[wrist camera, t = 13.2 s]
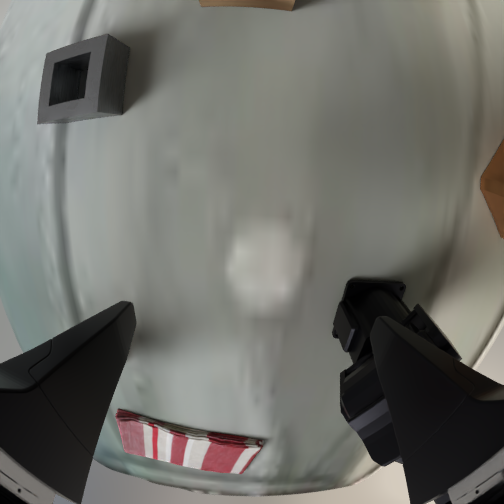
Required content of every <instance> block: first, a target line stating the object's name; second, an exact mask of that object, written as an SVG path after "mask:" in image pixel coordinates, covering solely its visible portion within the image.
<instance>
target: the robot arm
mask: <svg viewBox="0 0 504 504" xmlns="http://www.w3.org/2000/svg"><path fill="white" fill-rule="evenodd" d="M351 285H353V286H352V287H350V286H351ZM401 286H402V287H401ZM400 287H401V288H400ZM405 289H406V285H405V284H404V283H403V282H390V281H365V280H350V281H348V282H347V284H346V287H345V290H344V294H343V298H342V301H341V302H340V303H339V305H338V308H337V312H336V315H335V319H334V322H333V325H334V328H333V331H332V335H333V337H334V338H339V340H340V343H341V345H342V348H343V350H344V351H345V352H349V354H350V356H351V359H352V362H353V365H352V366H350V367H349V368H348V369H347V370H346V369H345V370H344V371H342V372H341V373H340V407H341V413H342V414H343V416H344V418H345V419H346V421H347V422H348V424H349V425H350V426H351V427H352V428H353V429H354V430H355V431H356V432H357V433H358V435H359V436H360V438H361V439H362V441H363V443H364V444H365V446H366V448H367V450H368V452H369V454H370V456H371V458H372V460H373V461H375V462H376V463H378V464H380V465H381V466H387V465H389V464H390V463H392V462H394V461H395V462H398V463H401V464H403V468H404V472H405V477H406V482H407V487H408V493H409V498H410V504H426V503H428V502H431V501H433V500H434V501H435V503H436V504H504V385H502V384H499V383H497V382H495V381H493V380H492V379H490V378H488V377H486V376H484V375H482V374H480V373H479V372H477V371H475V370H473V369H472V368H470V367H468V366H466V365H465V364H463V363H462V362H460V360H461V359H462V358H461V356H460V355H459V353H458V352H457V350H456V349H455V347H454V346H453V344H452V343H451V342H450V340H449V339H448V338H447V337H446V335H445V334H444V333H443V332H442V330H441V329H440V328H439V327H438V325H437V324H436V323H435V322H434V321H433V320H432V318H431V317H430V316H429V315H428V314H427V313H426V312H425V310H424V309H423V308H422V307H421V306H420V305H419V304H417V305H416V306H415V307H414V310H413V311H412V312H411V311H410V310H409V309H408V307H407V306H406V305H405V304H404V302H403V301H402V297H403V295H404V292H405ZM135 328H136V317H135V311H134V306H133V303H132V302H128V301H120V302H119V303H117V304H115V305H113V306H111V307H109V308H107V309H105V310H104V311H102V312H100V313H98V314H96V315H94V316H92V317H90V318H89V319H87V320H85V321H83V322H81V323H79V324H78V325H76V326H74V327H72V328H70V329H68V330H66V331H65V332H63V333H61V334H59V335H57V336H56V337H54V338H52V339H50V340H48V341H46V342H45V343H43V344H41V345H39V346H37V347H35V348H33V349H31V350H29V351H27V352H25V353H23V354H21V355H18V356H16V357H14V358H12V359H9V360H7V361H5V362H3V363H0V504H53V501H54V497H55V494H57V495H59V496H61V497H63V498H65V499H67V500H69V501H71V502H73V503H76V504H81V502H82V497H83V493H84V489H85V485H86V481H87V477H88V473H89V470H90V466H91V462H92V459H93V455H94V452H95V448H96V445H97V442H98V439H99V435H100V432H101V429H102V426H103V423H104V420H105V417H106V414H107V411H108V408H109V406H110V403H111V400H112V397H113V394H114V392H115V389H116V386H117V384H118V381H119V378H120V376H121V373H122V370H123V368H124V365H125V363H126V360H127V356H128V353H129V349H130V345H131V342H132V338H133V335H134V331H135ZM336 333H337V334H336Z"/></svg>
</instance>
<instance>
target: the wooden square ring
mask: <svg viewBox="0 0 504 504" xmlns="http://www.w3.org/2000/svg"><path fill="white" fill-rule="evenodd" d="M199 2H200V4H201V7H208V6H239V7H258V8H270V9H279V10H287V11H292V8H293V6H294V3H295V0H199Z"/></svg>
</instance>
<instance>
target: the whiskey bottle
mask: <svg viewBox="0 0 504 504" xmlns="http://www.w3.org/2000/svg"><path fill="white" fill-rule="evenodd" d="M480 189H481V191H482V193H483V195H484V197H485V200H486V202H487V204H488V206H489V209H490V211H491V213H492V216H493V218H494V221H495V223H496V226H497V228H498V231H499V233H500V236H501V238H503V239H504V140H503V141H502V143H501V145H500V147H499V148H498V150H497V152H496V154H495V155H494V157H493V159H492V160H491V162H490V164H489V165H488V167H487V168H486V170H485V171H484V173H483V175H482V176H481V185H480Z"/></svg>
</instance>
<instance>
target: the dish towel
mask: <svg viewBox="0 0 504 504" xmlns="http://www.w3.org/2000/svg"><path fill="white" fill-rule="evenodd" d="M115 417H116V419H117V424H118V427H119V430H120V434H121V438H122V443H123V447H124V451H125V452H127V453H129V454H135V455H140V456H144V457H149V458H153V459H157V460H161V461H165V462H170V463H173V464H177V465H181V466H186V467H192V468H196V469H201V470H205V471H213V472H220V473H238V474H242V473H243V472H244V471H245V469H246V468H247V467H248V465H249V464H250V463H251V461H252V460H253V459H254V457H255V456H256V454H257V453H259V451H260V450H261V449H262V447H263V442H264V440H257V439H252V438H247V437H241V436H235V435H228V434H222V433H214V432H206V431H200V430H195V429H190V428H185V427H181V426H177V425H173V424H168V423H164V422H160V421H156V420H153V419H149V418H146V417H143V416H139V415H136V414H133V413H130V412H127V411H124V410H122V409H117V413H116V416H115Z"/></svg>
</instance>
